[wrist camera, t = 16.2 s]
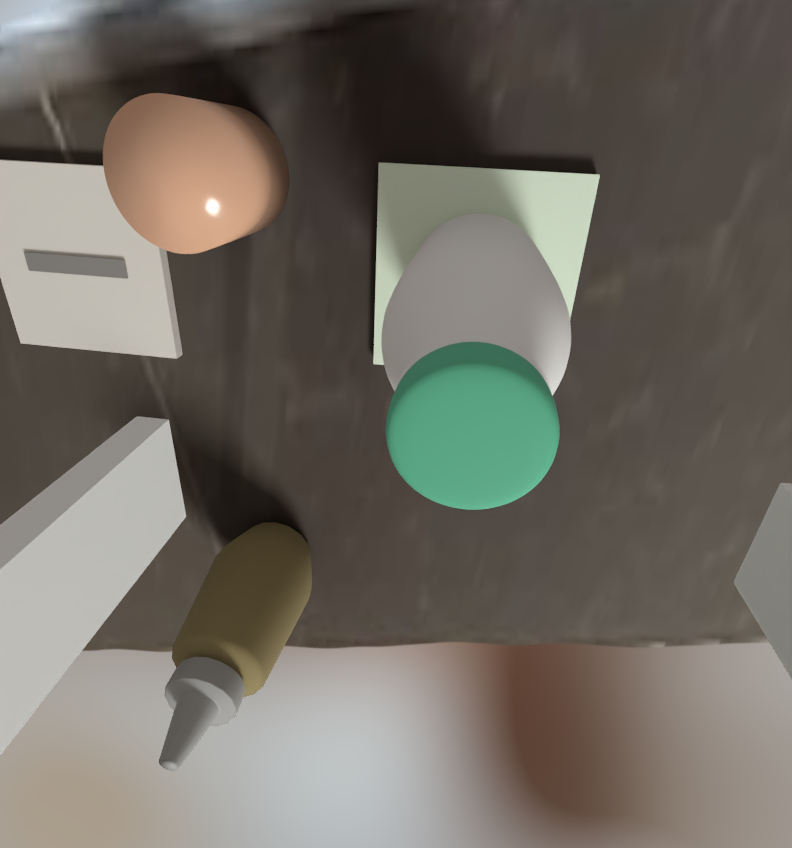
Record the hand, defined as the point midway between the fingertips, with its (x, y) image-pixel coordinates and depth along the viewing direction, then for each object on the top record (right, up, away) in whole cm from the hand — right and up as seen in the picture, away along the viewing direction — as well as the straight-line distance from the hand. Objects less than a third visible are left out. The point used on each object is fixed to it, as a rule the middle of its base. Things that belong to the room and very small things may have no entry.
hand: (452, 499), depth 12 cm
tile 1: (-22, +13, +24) cm, 35 cm away
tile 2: (+4, +11, +20) cm, 23 cm away
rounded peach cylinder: (-11, +17, +20) cm, 28 cm away
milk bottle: (+3, +10, +20) cm, 22 cm away
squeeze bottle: (-11, -9, +33) cm, 36 cm away
